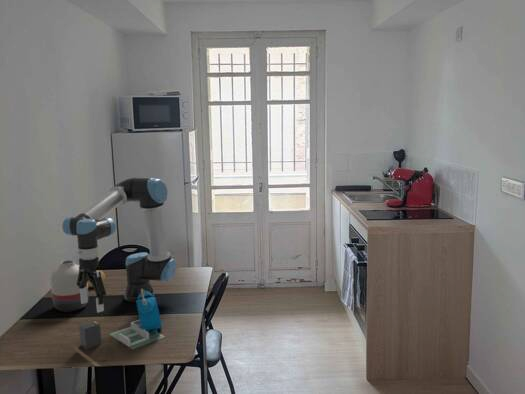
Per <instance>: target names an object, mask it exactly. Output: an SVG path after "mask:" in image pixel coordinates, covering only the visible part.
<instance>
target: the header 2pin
mask: <svg viewBox="0 0 525 394" xmlns="http://www.w3.org/2000/svg"><path fill="white" fill-rule="evenodd" d="M130 327H131V329H132V330H134V331H136V332H138V331H137V327H140V328H142V326H141V322H140V318H139V319H137V320H134V321H131V322H130Z"/></svg>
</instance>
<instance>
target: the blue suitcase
mask: <svg viewBox="0 0 525 394" xmlns="http://www.w3.org/2000/svg"><path fill="white" fill-rule="evenodd" d="M135 303H136V308H137V311H138V312H137V313H138V317H139V319H140V322H141V326H142V330H144V329H145V331H147V332H149V331H151V330H154V331H155V334H156V335H157V332H158V329H160V328H161V327H163V325H162V324H163V323H162V319H161V314H160V310H159V306H158V302H157V298H156V297H155V296H154V297H152V294H151V293H150V292H148V291H145V290H143V289H141V293H140V294H139V295H138V300H137V301H136V302H135Z"/></svg>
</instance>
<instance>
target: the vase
mask: <svg viewBox="0 0 525 394" xmlns="http://www.w3.org/2000/svg"><path fill="white" fill-rule="evenodd" d="M78 274H79V264H77V263H76V262H75V260H72V259H67V260H62V261H60V264H59V266H57V267H56V268H55V269H54V270H53V271H52V273H51V276H50V288H51V300H52V305H53V307H54V308H55V309H56V310H57V311H59V312H63V313H64V312H66V313H67V312H68V313H69V312H75V311H79V310H80V309H83V308H84V307H86V305H87V304H88V302H87V303H84V304H81V296H80V288H79V286H77V279H78ZM86 285H87V286H86V287H87V296H88V297H89V288H88V283H87V284H86Z"/></svg>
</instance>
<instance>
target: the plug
mask: <svg viewBox="0 0 525 394" xmlns="http://www.w3.org/2000/svg"><path fill="white" fill-rule="evenodd" d="M79 340H80V346H81V347H82V348H84V350H89V349H91V348H94V347H97V346H100V345H102V332H101V325H100V323H98V322H97V321H95V320H93V321H89V322H86V323H82V324H79Z"/></svg>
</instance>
